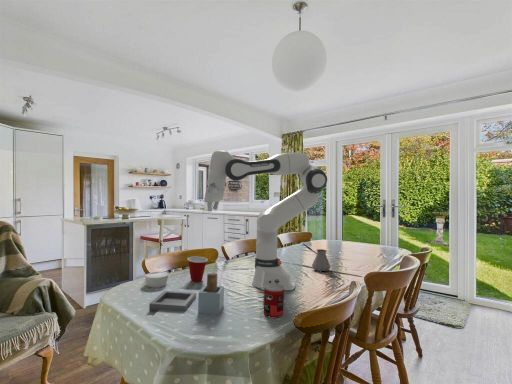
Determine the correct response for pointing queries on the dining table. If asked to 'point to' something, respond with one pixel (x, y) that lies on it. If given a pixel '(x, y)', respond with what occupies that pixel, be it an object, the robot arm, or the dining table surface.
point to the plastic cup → (197, 268)
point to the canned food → (273, 300)
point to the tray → (172, 301)
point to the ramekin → (156, 279)
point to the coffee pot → (320, 260)
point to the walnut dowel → (212, 282)
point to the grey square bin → (211, 300)
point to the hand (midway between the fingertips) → (212, 210)
